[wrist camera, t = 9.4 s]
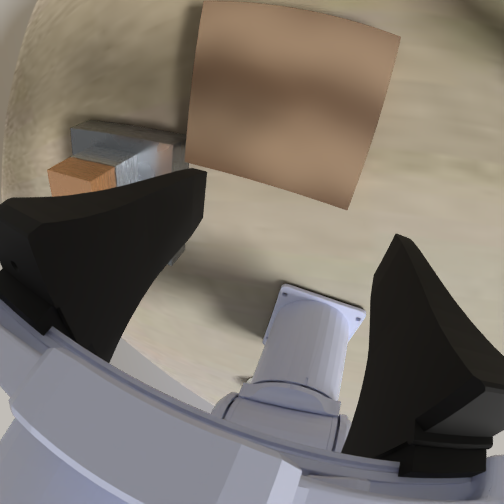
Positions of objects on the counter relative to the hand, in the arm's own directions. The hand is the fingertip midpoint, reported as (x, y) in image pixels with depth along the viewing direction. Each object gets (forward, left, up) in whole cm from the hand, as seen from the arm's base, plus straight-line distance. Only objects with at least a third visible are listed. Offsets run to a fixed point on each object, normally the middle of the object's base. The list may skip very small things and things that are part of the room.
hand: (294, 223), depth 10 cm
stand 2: (+3, +3, -10) cm, 11 cm away
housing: (-7, +15, -7) cm, 18 cm away
